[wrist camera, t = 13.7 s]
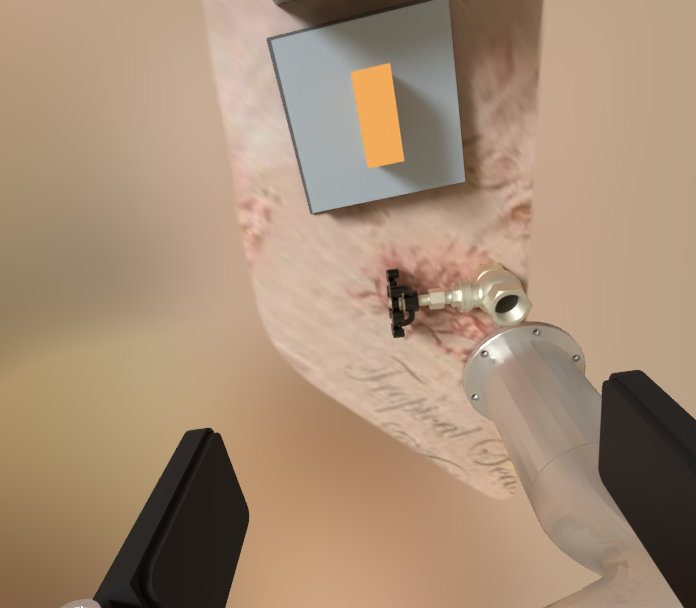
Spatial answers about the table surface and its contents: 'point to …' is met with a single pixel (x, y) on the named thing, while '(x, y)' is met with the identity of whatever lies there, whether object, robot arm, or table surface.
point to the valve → (462, 297)
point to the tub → (281, 1)
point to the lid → (374, 105)
